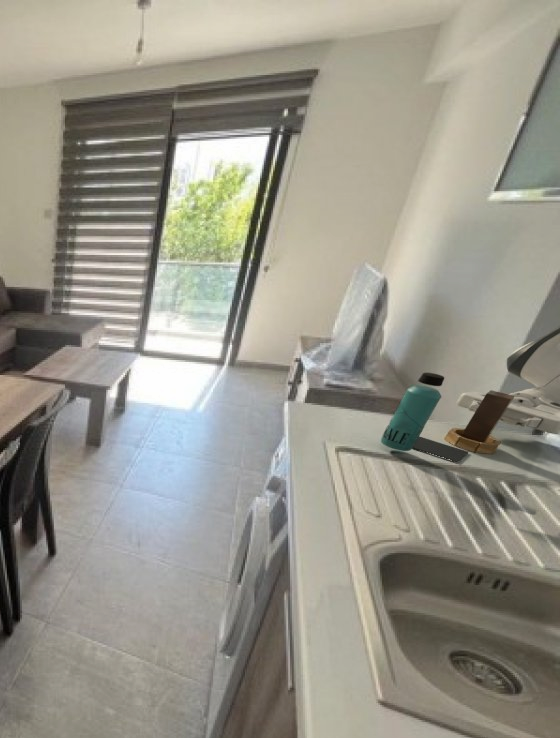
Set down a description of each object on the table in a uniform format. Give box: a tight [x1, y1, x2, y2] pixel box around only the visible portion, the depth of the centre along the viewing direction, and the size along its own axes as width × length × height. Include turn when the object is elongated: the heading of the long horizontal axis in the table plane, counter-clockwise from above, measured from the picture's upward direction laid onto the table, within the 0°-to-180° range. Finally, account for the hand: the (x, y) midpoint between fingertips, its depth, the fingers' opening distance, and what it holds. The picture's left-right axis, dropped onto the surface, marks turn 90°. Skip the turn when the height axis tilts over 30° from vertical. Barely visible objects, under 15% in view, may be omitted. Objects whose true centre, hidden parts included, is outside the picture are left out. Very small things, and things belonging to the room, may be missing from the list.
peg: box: [461, 390, 515, 443], centre depth 121 cm, size 4×4×14 cm
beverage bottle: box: [380, 372, 445, 452], centre depth 114 cm, size 6×7×20 cm
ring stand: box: [444, 427, 502, 455], centre depth 124 cm, size 9×9×2 cm
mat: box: [412, 435, 469, 463], centre depth 121 cm, size 10×10×1 cm
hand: (496, 415), depth 123 cm, fingers open, 8 cm apart
